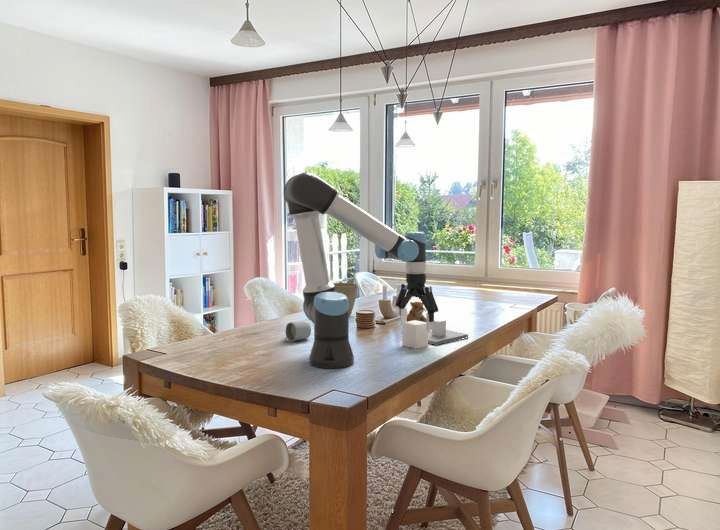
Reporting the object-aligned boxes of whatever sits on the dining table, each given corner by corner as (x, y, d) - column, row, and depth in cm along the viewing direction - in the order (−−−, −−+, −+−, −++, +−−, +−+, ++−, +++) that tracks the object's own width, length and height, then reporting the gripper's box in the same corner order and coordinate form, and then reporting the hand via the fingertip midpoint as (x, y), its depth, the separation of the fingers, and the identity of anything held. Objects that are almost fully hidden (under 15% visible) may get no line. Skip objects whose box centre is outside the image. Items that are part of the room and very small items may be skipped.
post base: (435, 345, 201) (435, 326, 200) (409, 339, 212) (409, 320, 211) (467, 337, 214) (468, 319, 213) (441, 332, 225) (441, 315, 224)
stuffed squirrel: (408, 334, 220) (409, 303, 219) (399, 327, 234) (399, 298, 233) (431, 333, 222) (431, 303, 221) (420, 326, 236) (421, 298, 235)
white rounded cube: (415, 348, 196) (415, 325, 195) (402, 345, 201) (402, 322, 201) (428, 345, 201) (428, 322, 200) (414, 342, 206) (415, 320, 205)
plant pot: (331, 312, 270) (331, 282, 269) (359, 313, 268) (359, 282, 267) (325, 318, 256) (325, 286, 254) (355, 319, 254) (355, 286, 252)
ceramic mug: (312, 339, 211) (312, 320, 210) (296, 343, 205) (295, 323, 205) (296, 335, 219) (296, 317, 218) (280, 339, 213) (280, 320, 212)
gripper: (447, 274, 192) (447, 330, 194) (399, 269, 210) (400, 321, 212) (434, 275, 187) (434, 334, 189) (386, 271, 206) (387, 324, 208)
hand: (416, 327), depth 201 cm, fingers open, 13 cm apart
